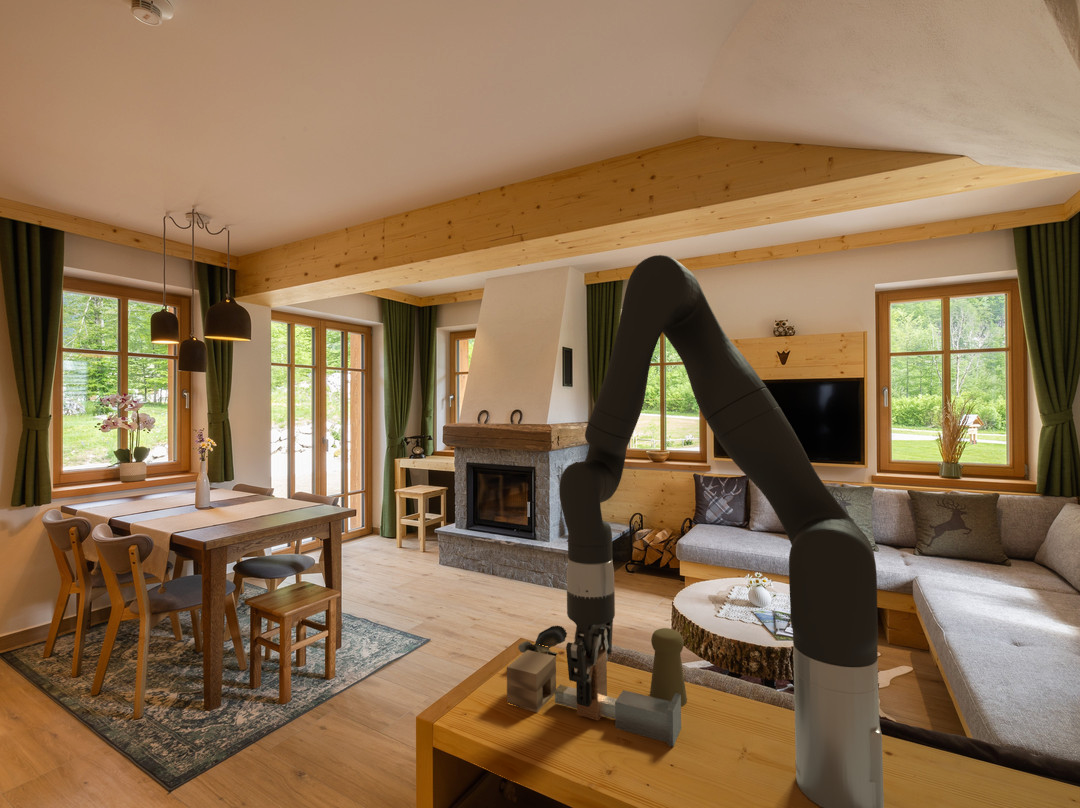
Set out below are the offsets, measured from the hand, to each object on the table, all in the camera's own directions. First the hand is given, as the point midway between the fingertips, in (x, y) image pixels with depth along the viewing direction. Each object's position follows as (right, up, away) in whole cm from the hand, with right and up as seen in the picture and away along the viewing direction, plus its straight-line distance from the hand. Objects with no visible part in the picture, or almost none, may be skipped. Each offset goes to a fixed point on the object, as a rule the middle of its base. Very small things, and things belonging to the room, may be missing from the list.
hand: (591, 694), depth 83 cm
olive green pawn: (+13, -3, +4) cm, 14 cm away
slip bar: (+3, -2, -1) cm, 4 cm away
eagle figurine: (-7, -4, +17) cm, 19 cm away
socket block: (-9, -3, +5) cm, 11 cm away
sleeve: (+8, -3, -4) cm, 9 cm away
